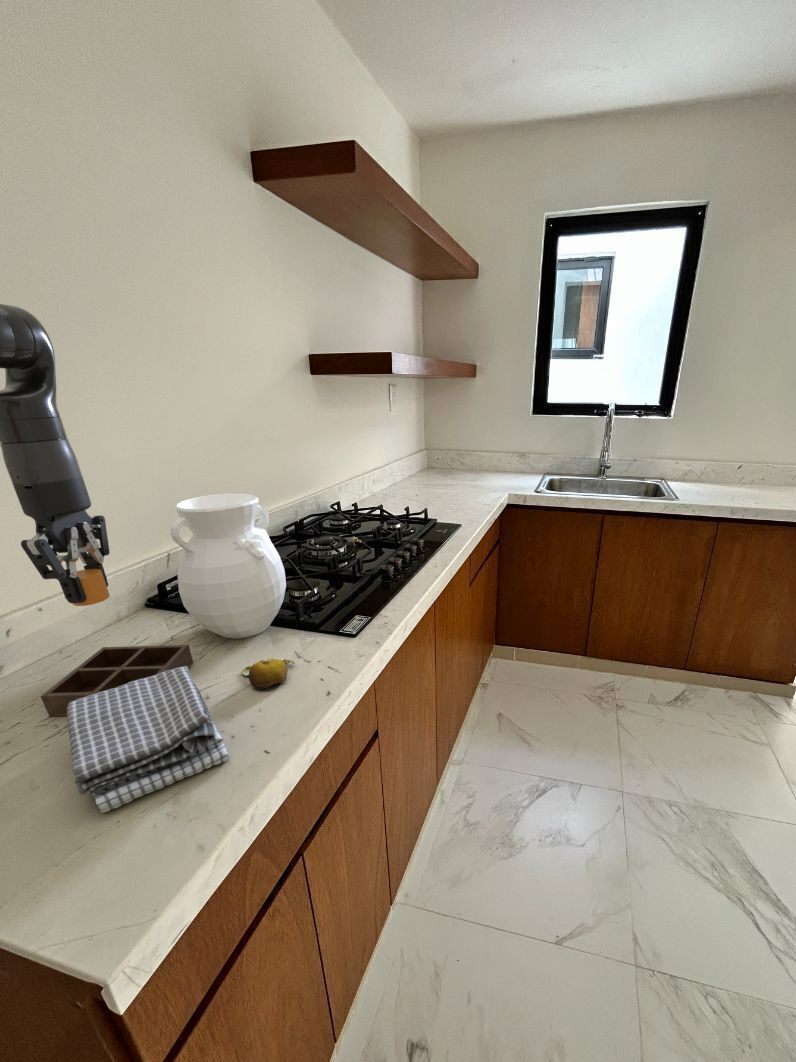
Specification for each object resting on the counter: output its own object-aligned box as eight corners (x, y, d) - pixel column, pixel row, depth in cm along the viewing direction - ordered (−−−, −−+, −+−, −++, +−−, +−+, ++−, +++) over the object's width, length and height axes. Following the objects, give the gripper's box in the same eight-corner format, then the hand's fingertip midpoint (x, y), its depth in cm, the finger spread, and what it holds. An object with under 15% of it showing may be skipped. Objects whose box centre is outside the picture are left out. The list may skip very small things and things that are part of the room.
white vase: (265, 600, 110) (244, 486, 100) (310, 625, 98) (291, 498, 88) (176, 629, 98) (141, 502, 88) (215, 661, 86) (180, 519, 76)
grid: (49, 717, 72) (40, 696, 71) (109, 665, 85) (102, 646, 84) (149, 714, 72) (142, 693, 71) (193, 662, 85) (188, 644, 84)
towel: (198, 698, 76) (186, 653, 72) (233, 765, 62) (220, 713, 59) (78, 739, 67) (58, 690, 64) (87, 826, 54) (63, 770, 51)
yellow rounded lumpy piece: (293, 660, 85) (289, 641, 84) (298, 685, 78) (295, 665, 77) (241, 670, 83) (237, 651, 81) (242, 697, 76) (237, 676, 74)
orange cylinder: (65, 606, 71) (55, 580, 69) (85, 594, 75) (76, 569, 74) (97, 605, 71) (88, 579, 69) (116, 592, 75) (108, 567, 74)
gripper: (56, 469, 72) (94, 578, 79) (-28, 487, 59) (27, 617, 66) (108, 466, 72) (141, 576, 79) (36, 485, 59) (84, 614, 66)
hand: (89, 594), depth 73 cm, fingers closed on orange cylinder, 4 cm apart
